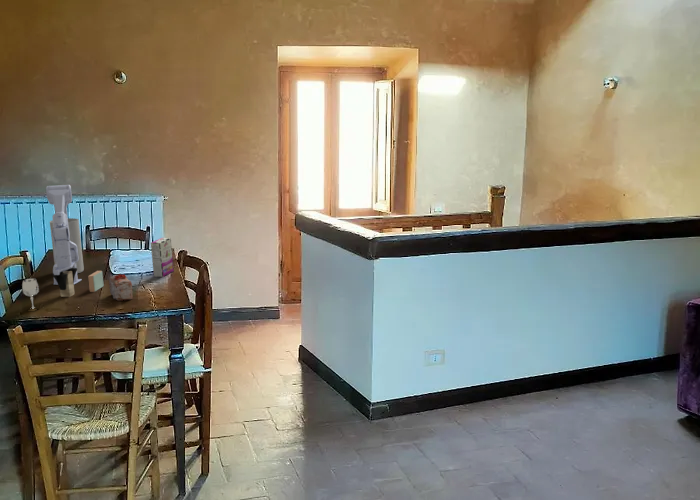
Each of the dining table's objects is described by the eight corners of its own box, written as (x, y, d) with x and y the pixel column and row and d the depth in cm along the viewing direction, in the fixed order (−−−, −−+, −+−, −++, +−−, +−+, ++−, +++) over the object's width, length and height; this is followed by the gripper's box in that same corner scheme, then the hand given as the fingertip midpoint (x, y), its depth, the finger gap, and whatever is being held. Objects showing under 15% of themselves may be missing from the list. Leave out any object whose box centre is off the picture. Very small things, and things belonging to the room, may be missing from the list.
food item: (135, 299, 269) (133, 276, 267) (115, 303, 265) (113, 279, 263) (126, 292, 280) (124, 269, 278) (106, 295, 276) (104, 272, 274)
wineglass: (28, 308, 260) (24, 278, 258) (43, 307, 261) (40, 277, 258) (22, 312, 255) (18, 282, 252) (38, 311, 255) (34, 281, 253)
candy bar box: (164, 271, 315) (161, 237, 312) (174, 271, 314) (171, 237, 311) (152, 277, 304) (150, 242, 301) (162, 277, 303) (160, 242, 300)
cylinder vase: (77, 275, 310) (71, 222, 304) (50, 275, 310) (44, 223, 305) (88, 268, 322) (82, 218, 317) (62, 269, 322) (57, 218, 317)
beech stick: (60, 296, 275) (58, 273, 273) (65, 294, 279) (62, 271, 277) (70, 296, 275) (67, 273, 273) (74, 294, 279) (72, 271, 277)
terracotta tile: (89, 291, 282) (88, 276, 280) (98, 286, 291) (97, 270, 289) (95, 291, 282) (93, 276, 280) (103, 286, 291) (102, 270, 289)
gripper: (62, 251, 281) (65, 282, 284) (44, 259, 266) (48, 292, 269) (78, 251, 280) (81, 282, 283) (61, 259, 266) (65, 292, 269)
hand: (66, 287), depth 276 cm, fingers open, 6 cm apart
